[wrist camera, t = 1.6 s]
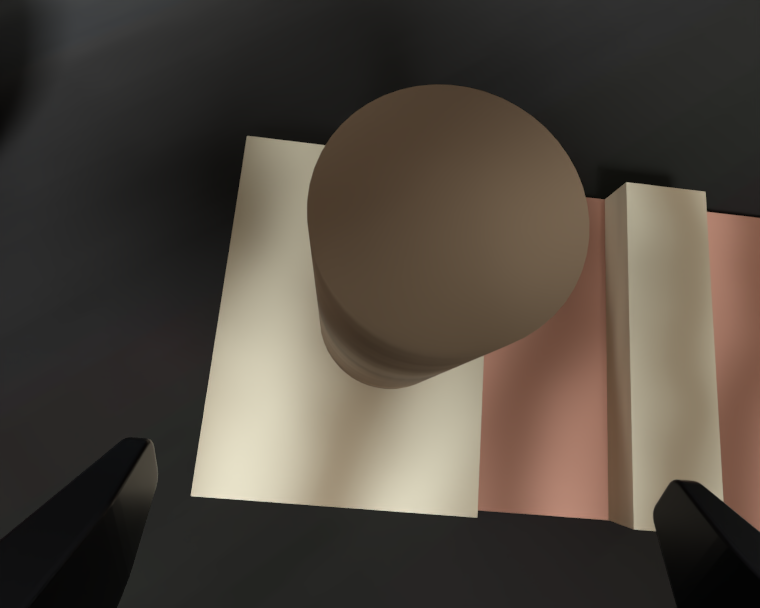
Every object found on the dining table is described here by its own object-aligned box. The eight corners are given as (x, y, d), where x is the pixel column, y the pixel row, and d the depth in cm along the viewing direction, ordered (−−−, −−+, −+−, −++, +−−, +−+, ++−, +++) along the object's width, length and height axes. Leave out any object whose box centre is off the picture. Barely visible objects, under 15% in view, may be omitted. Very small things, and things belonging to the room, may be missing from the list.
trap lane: (205, 487, 19) (189, 496, 17) (254, 161, 22) (246, 133, 20) (1040, 551, 21) (1119, 566, 19) (985, 247, 24) (1048, 231, 22)
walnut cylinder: (485, 323, 19) (645, 224, 9) (386, 419, 18) (450, 419, 8) (392, 226, 20) (451, 36, 10) (290, 313, 19) (245, 198, 9)
